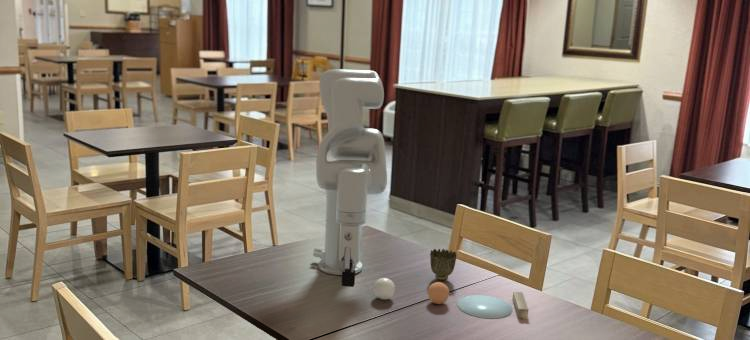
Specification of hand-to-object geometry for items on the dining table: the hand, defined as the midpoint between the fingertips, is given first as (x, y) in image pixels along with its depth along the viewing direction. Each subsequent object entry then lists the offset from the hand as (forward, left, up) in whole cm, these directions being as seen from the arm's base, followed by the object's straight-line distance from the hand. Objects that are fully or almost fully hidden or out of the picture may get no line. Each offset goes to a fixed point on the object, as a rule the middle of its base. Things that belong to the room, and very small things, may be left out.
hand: (348, 285), depth 177 cm
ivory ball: (+8, +4, -1) cm, 9 cm away
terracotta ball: (+21, +10, -1) cm, 23 cm away
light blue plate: (+32, +14, -3) cm, 35 cm away
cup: (+16, +25, -4) cm, 30 cm away
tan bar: (+41, +18, -3) cm, 44 cm away
